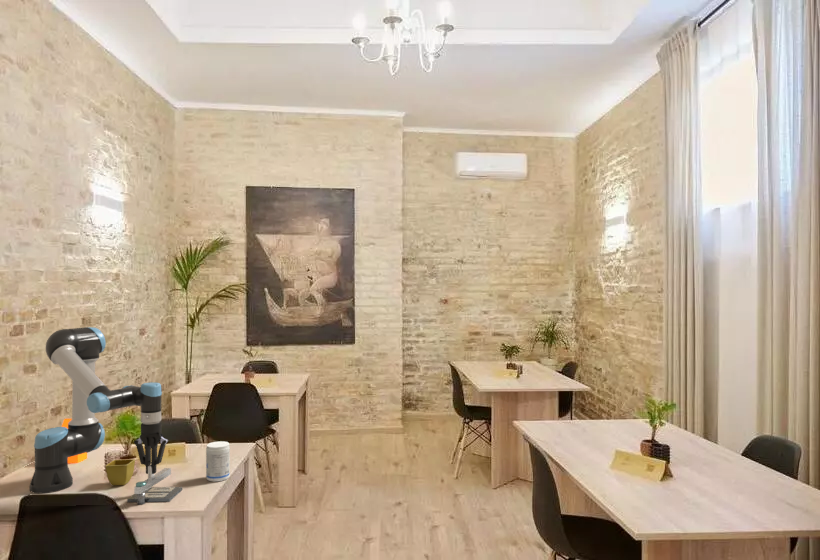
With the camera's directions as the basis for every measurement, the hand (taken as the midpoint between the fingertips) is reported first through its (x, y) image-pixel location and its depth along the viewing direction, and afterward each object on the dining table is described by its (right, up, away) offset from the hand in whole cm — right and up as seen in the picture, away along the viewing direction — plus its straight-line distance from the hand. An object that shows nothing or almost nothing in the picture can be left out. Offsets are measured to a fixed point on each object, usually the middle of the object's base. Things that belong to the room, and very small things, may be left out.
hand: (151, 481), depth 233 cm
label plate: (+3, -5, -3) cm, 6 cm away
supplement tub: (+21, -5, +17) cm, 28 cm away
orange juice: (-57, -6, +46) cm, 73 cm away
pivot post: (+1, -5, -11) cm, 12 cm away
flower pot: (-18, -5, +12) cm, 22 cm away
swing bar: (+2, 0, -2) cm, 3 cm away
